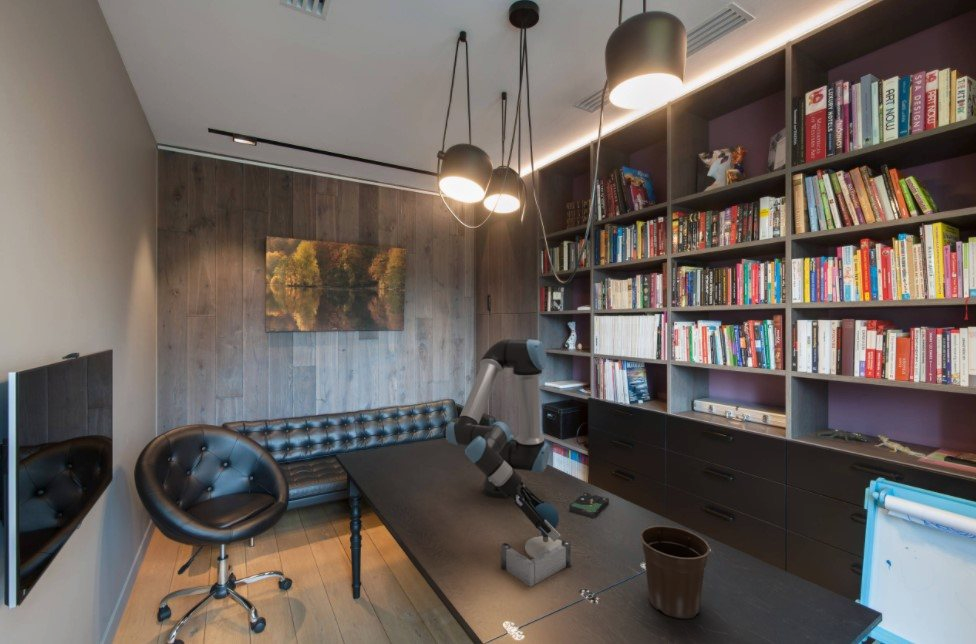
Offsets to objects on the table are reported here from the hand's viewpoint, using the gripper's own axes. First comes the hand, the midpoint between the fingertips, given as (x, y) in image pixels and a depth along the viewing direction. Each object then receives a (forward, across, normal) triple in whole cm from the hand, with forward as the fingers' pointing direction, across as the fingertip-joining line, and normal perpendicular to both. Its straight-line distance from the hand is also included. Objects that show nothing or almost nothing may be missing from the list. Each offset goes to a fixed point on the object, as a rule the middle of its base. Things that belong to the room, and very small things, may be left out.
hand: (556, 530), depth 133 cm
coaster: (+2, 0, -7) cm, 7 cm away
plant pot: (+25, +22, +16) cm, 37 cm away
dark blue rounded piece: (0, 0, -5) cm, 5 cm away
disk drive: (+15, -32, +5) cm, 36 cm away
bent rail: (0, +9, -9) cm, 13 cm away
